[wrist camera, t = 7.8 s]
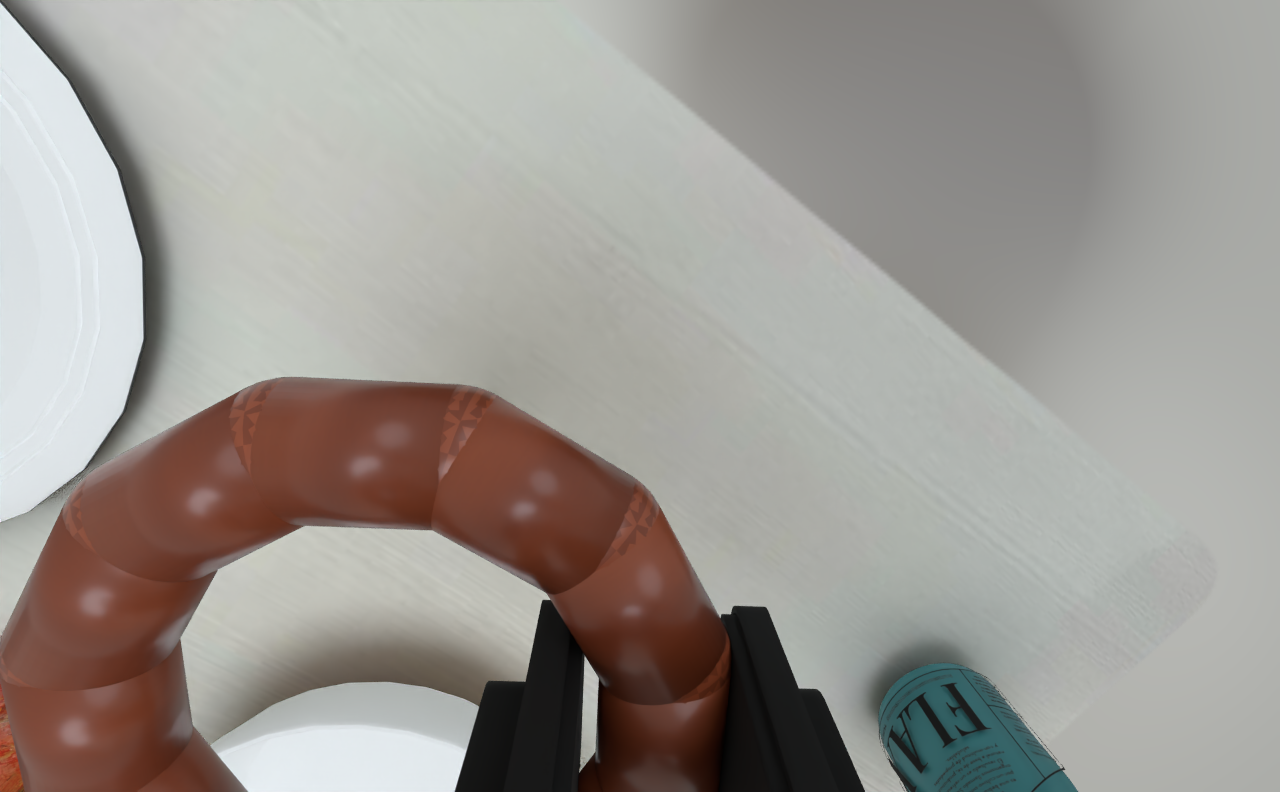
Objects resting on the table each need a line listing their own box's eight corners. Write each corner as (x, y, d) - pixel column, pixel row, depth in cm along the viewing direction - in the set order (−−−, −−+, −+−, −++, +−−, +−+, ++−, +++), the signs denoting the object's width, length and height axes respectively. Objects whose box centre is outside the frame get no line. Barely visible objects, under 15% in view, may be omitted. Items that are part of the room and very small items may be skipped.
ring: (744, 384, 10) (775, 421, 8) (692, 909, 12) (705, 1035, 10) (32, 349, 9) (-122, 381, 7) (134, 903, 12) (39, 1034, 10)
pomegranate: (130, 604, 33) (-174, 691, 27) (144, 699, 28) (-229, 834, 21) (155, 714, 35) (-116, 816, 29) (172, 818, 30) (-152, 969, 24)
